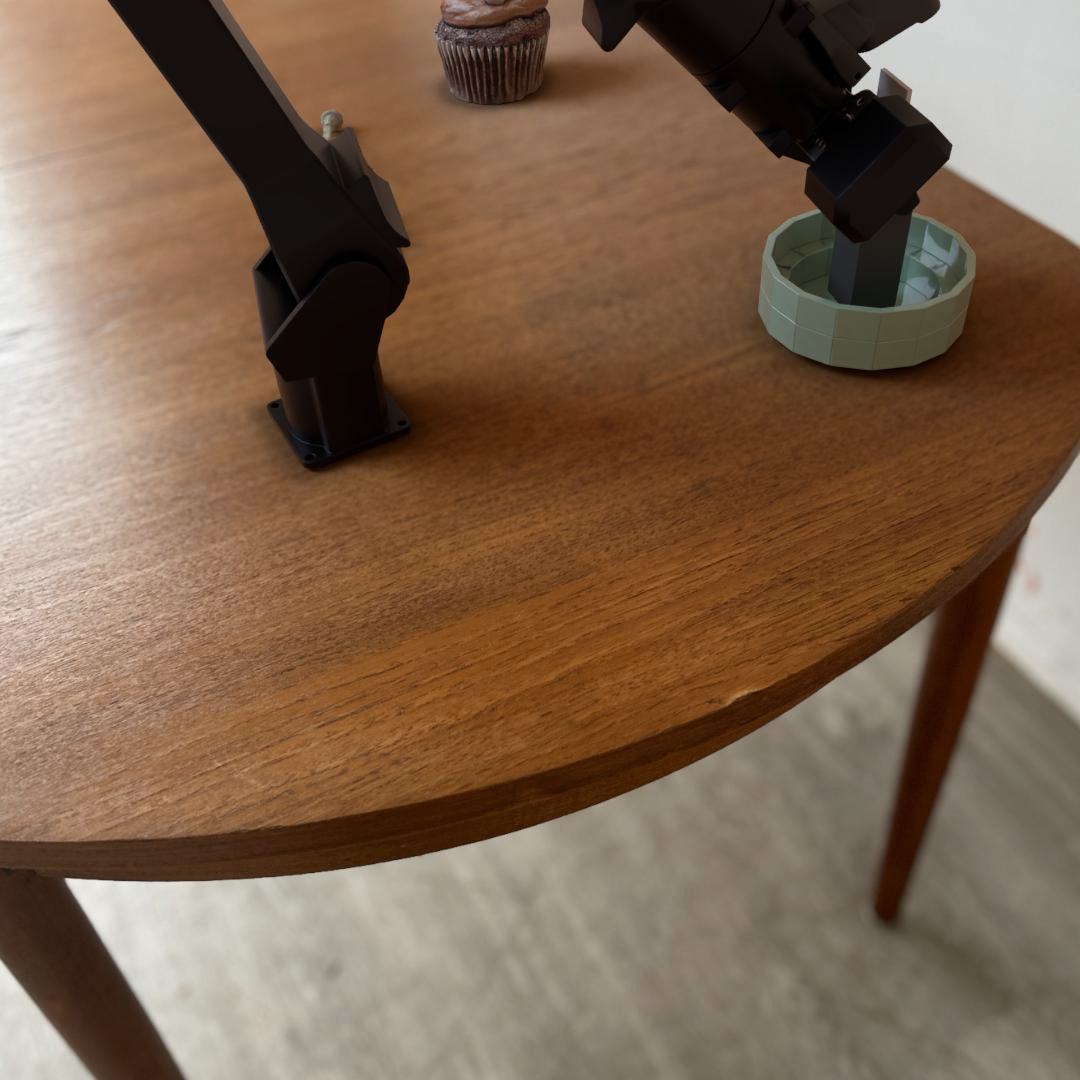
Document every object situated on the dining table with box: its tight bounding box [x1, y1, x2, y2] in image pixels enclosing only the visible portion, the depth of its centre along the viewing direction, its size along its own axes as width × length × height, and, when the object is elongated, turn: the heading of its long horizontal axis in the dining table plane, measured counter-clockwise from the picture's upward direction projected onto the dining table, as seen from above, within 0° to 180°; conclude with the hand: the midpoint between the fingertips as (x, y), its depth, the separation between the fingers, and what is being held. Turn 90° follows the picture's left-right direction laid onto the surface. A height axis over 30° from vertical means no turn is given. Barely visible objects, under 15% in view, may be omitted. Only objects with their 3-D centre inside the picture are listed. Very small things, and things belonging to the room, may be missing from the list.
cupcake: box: [432, 0, 551, 105], centre depth 97 cm, size 10×10×10 cm
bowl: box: [757, 208, 977, 371], centre depth 71 cm, size 12×12×4 cm
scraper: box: [827, 67, 914, 308], centre depth 67 cm, size 3×3×13 cm
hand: (898, 194), depth 67 cm, fingers closed on scraper, 3 cm apart
